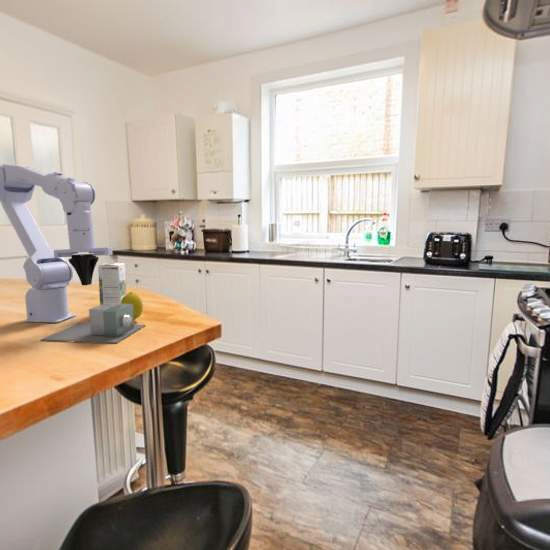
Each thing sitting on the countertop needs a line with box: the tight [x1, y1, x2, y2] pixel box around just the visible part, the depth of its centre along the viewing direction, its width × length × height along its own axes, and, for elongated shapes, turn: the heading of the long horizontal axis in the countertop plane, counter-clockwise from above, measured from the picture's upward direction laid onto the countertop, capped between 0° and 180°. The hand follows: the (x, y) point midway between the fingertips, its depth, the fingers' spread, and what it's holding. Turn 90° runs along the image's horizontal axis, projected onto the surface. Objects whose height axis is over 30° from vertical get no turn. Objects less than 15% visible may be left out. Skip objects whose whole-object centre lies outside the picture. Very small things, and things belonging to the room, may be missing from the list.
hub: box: [88, 304, 119, 335], centre depth 90 cm, size 4×6×6 cm, turn 174°
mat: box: [40, 322, 146, 344], centre depth 91 cm, size 18×14×1 cm
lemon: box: [121, 291, 144, 321], centre depth 101 cm, size 6×6×8 cm
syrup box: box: [97, 262, 127, 305], centre depth 109 cm, size 6×6×14 cm
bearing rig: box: [103, 304, 135, 338], centre depth 90 cm, size 8×8×6 cm
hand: (86, 284), depth 97 cm, fingers closed
